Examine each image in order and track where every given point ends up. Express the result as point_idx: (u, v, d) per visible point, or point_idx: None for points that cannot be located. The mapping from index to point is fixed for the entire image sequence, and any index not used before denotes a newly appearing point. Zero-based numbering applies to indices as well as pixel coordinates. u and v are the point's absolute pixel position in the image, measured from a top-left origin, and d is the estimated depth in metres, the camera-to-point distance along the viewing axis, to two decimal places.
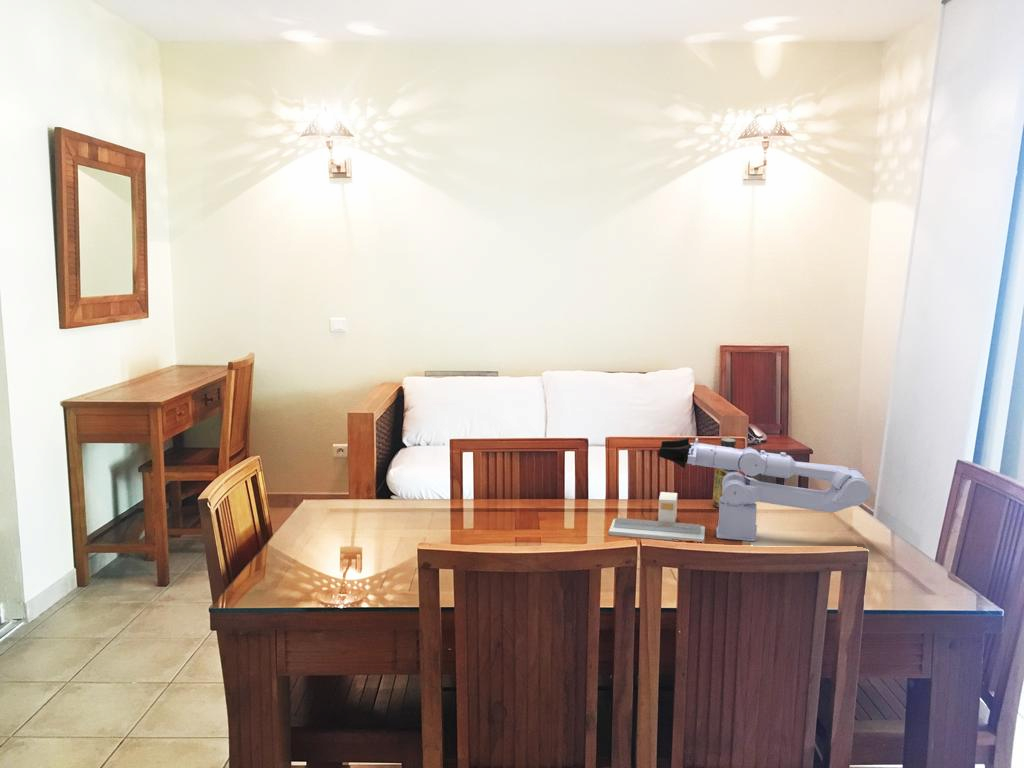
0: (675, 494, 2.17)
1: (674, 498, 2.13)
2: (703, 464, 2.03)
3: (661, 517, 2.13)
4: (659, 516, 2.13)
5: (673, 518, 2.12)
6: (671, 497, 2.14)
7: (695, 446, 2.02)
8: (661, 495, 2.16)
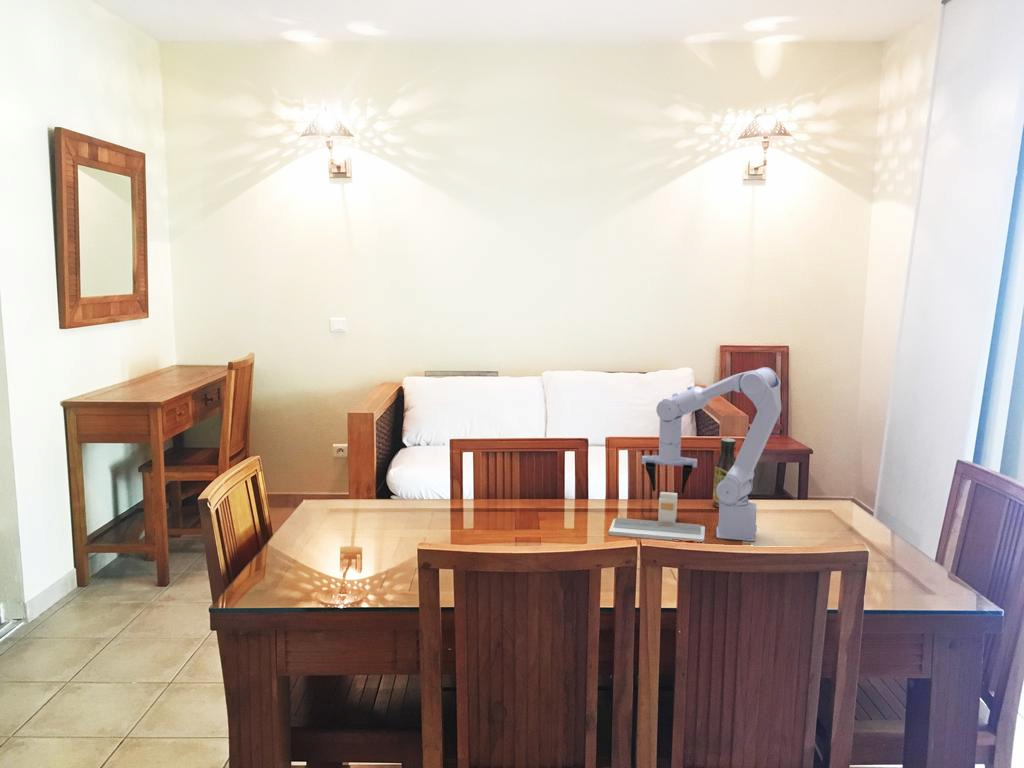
0: (675, 494, 2.17)
1: (674, 498, 2.13)
2: (661, 451, 2.12)
3: (661, 517, 2.13)
4: (659, 516, 2.13)
5: (673, 518, 2.12)
6: (671, 497, 2.14)
7: None
8: (661, 495, 2.16)
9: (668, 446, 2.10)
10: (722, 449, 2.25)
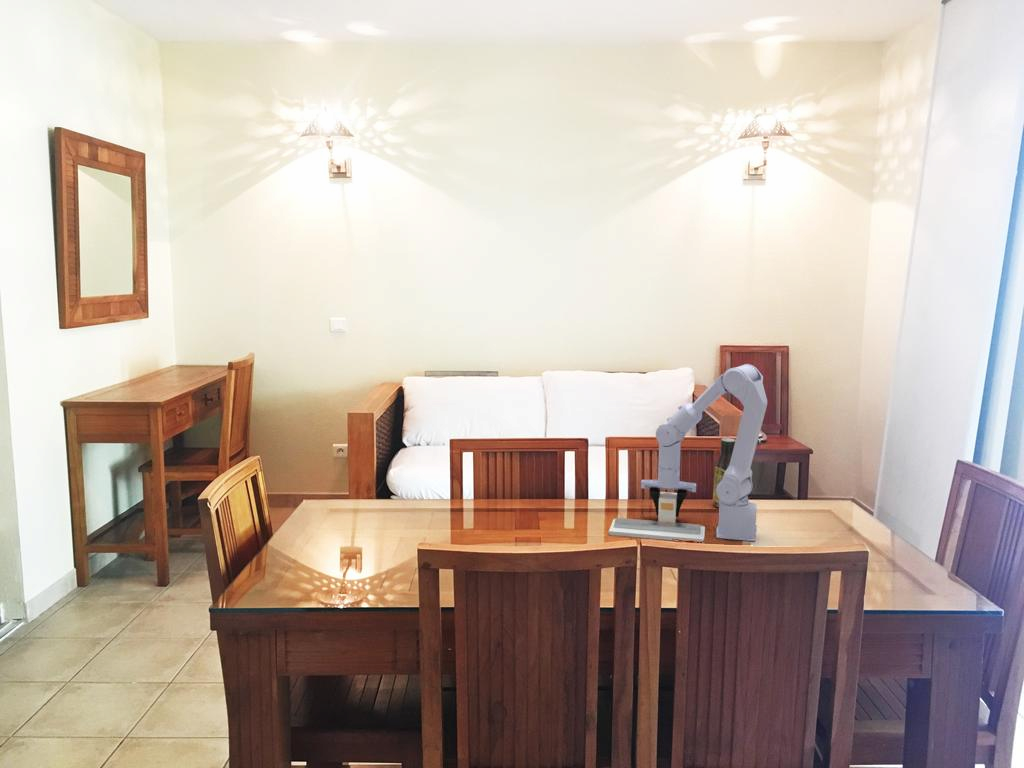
0: (675, 494, 2.17)
1: (674, 498, 2.13)
2: (661, 476, 2.13)
3: (661, 517, 2.13)
4: (659, 516, 2.13)
5: (673, 518, 2.12)
6: (671, 497, 2.14)
7: None
8: (661, 495, 2.16)
9: (667, 471, 2.11)
10: (722, 449, 2.25)
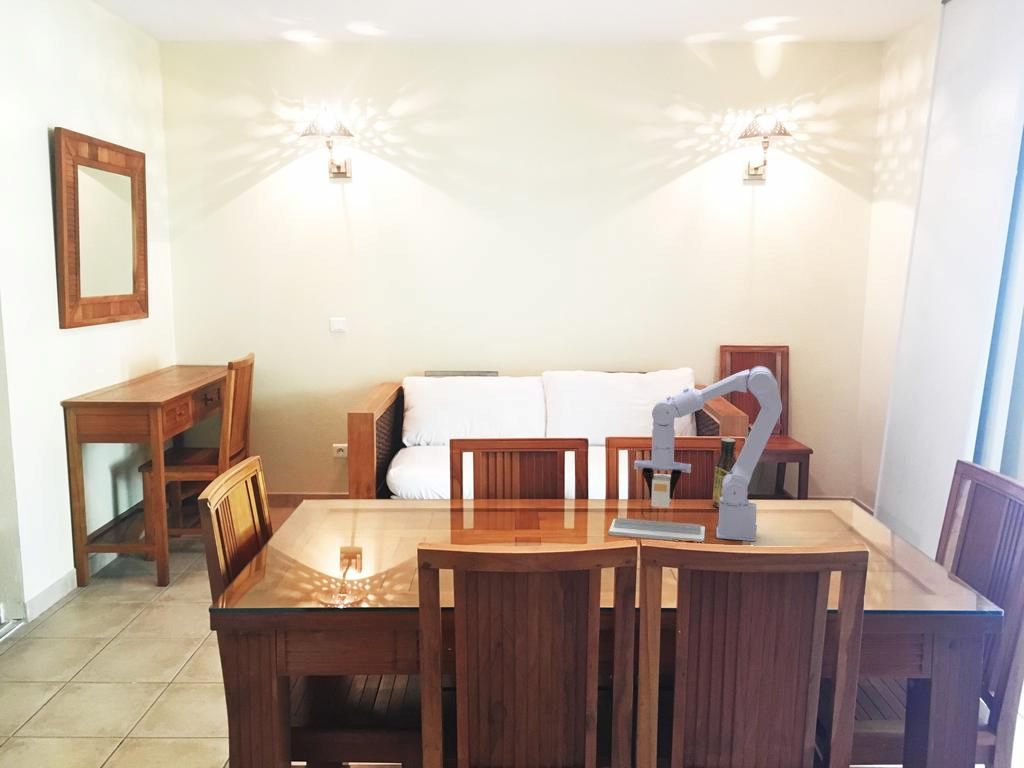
0: (669, 476, 2.10)
1: (668, 479, 2.07)
2: (654, 456, 2.06)
3: (654, 499, 2.06)
4: (652, 498, 2.06)
5: (667, 500, 2.05)
6: (665, 478, 2.07)
7: None
8: (655, 476, 2.09)
9: (661, 451, 2.04)
10: (722, 449, 2.25)
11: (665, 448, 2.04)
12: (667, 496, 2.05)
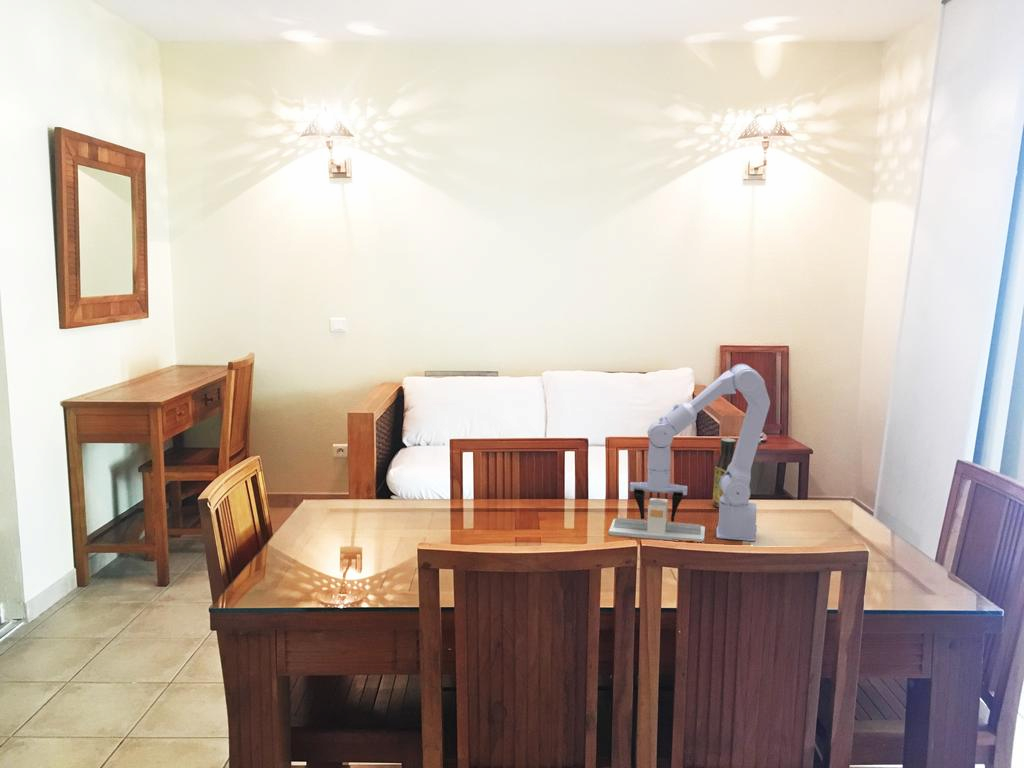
0: (665, 500, 2.08)
1: (664, 504, 2.04)
2: (650, 478, 2.04)
3: (650, 524, 2.04)
4: (648, 523, 2.04)
5: (663, 526, 2.03)
6: (661, 504, 2.05)
7: None
8: (651, 501, 2.07)
9: (657, 473, 2.02)
10: (722, 449, 2.25)
11: (663, 470, 2.02)
12: (663, 522, 2.03)
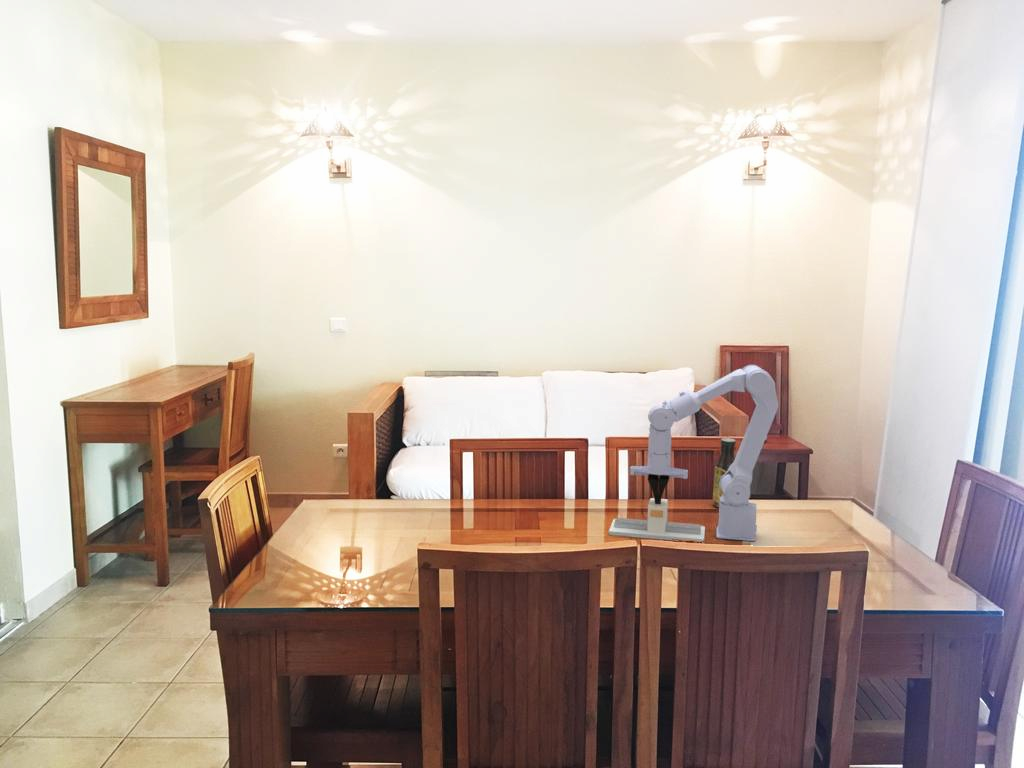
0: (665, 500, 2.08)
1: (664, 504, 2.04)
2: (650, 462, 2.03)
3: (650, 524, 2.04)
4: (648, 523, 2.04)
5: (663, 526, 2.03)
6: (661, 504, 2.05)
7: None
8: (651, 501, 2.07)
9: (657, 456, 2.01)
10: (722, 449, 2.25)
11: (663, 453, 2.01)
12: (663, 522, 2.03)
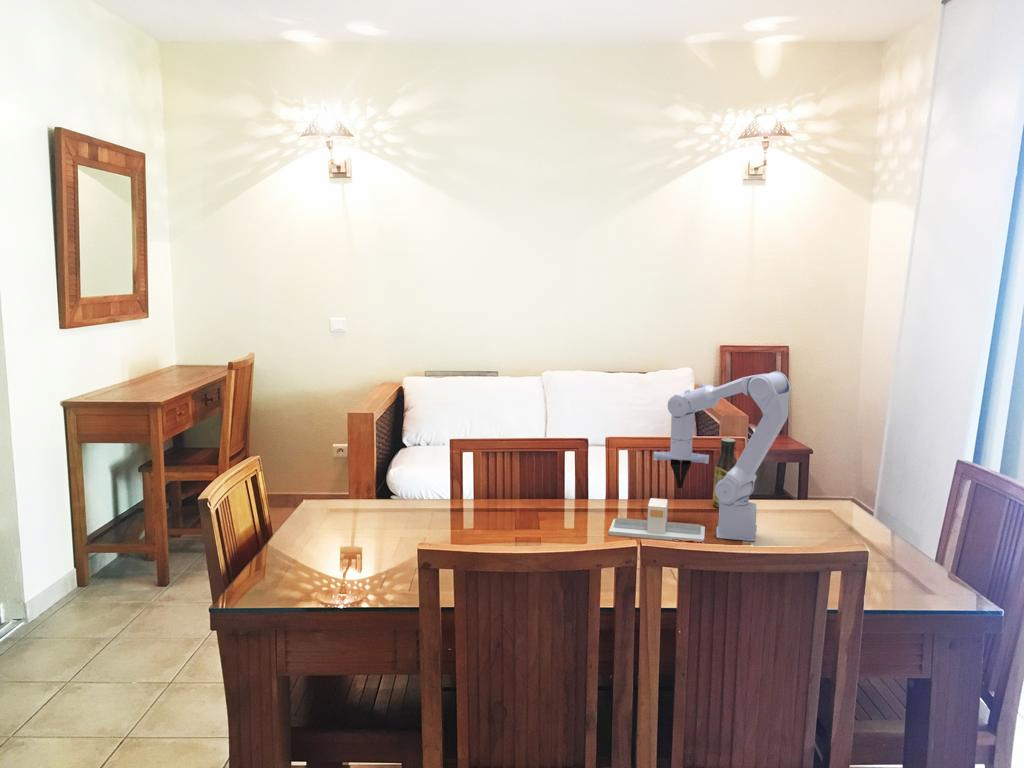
0: (665, 500, 2.08)
1: (664, 504, 2.04)
2: (673, 447, 2.12)
3: (650, 524, 2.04)
4: (648, 523, 2.04)
5: (663, 526, 2.03)
6: (661, 504, 2.05)
7: None
8: (651, 501, 2.07)
9: (680, 442, 2.10)
10: (722, 449, 2.25)
11: (678, 439, 2.10)
12: (663, 522, 2.03)
